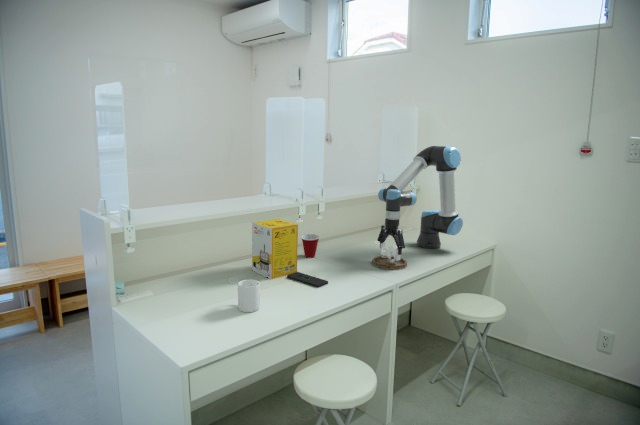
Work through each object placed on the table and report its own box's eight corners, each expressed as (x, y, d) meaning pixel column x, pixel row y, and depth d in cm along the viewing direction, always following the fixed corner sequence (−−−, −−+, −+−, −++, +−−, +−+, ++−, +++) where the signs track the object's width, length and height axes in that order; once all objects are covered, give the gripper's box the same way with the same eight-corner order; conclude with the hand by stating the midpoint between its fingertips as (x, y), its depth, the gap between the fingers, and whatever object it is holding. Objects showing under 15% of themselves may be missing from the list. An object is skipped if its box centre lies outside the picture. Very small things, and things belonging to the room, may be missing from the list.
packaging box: (252, 270, 216) (252, 222, 212) (277, 264, 227) (278, 218, 222) (270, 279, 205) (271, 228, 200) (297, 272, 215) (297, 224, 211)
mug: (247, 300, 179) (247, 275, 177) (264, 309, 171) (264, 283, 168) (229, 305, 173) (229, 280, 171) (246, 315, 165) (246, 288, 163)
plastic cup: (296, 257, 241) (297, 236, 239) (306, 252, 250) (306, 232, 248) (313, 260, 236) (314, 239, 234) (322, 255, 245) (323, 235, 243)
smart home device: (297, 271, 213) (328, 280, 201) (297, 274, 214) (328, 284, 201) (286, 275, 207) (317, 285, 195) (286, 278, 207) (317, 288, 195)
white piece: (395, 247, 225) (377, 245, 233) (395, 263, 226) (378, 260, 234) (402, 245, 229) (384, 243, 238) (402, 261, 230) (385, 258, 239)
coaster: (389, 257, 245) (390, 254, 245) (413, 266, 231) (413, 262, 230) (365, 262, 235) (365, 258, 235) (389, 271, 220) (389, 268, 220)
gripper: (372, 215, 235) (370, 252, 240) (403, 223, 216) (400, 264, 220) (382, 213, 240) (380, 250, 244) (413, 221, 221) (411, 262, 225)
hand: (390, 257), depth 232 cm, fingers closed on white piece, 12 cm apart
